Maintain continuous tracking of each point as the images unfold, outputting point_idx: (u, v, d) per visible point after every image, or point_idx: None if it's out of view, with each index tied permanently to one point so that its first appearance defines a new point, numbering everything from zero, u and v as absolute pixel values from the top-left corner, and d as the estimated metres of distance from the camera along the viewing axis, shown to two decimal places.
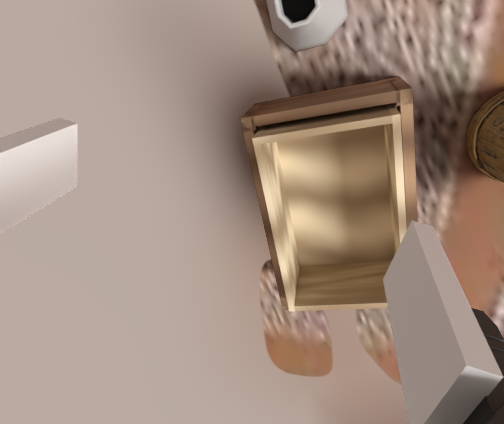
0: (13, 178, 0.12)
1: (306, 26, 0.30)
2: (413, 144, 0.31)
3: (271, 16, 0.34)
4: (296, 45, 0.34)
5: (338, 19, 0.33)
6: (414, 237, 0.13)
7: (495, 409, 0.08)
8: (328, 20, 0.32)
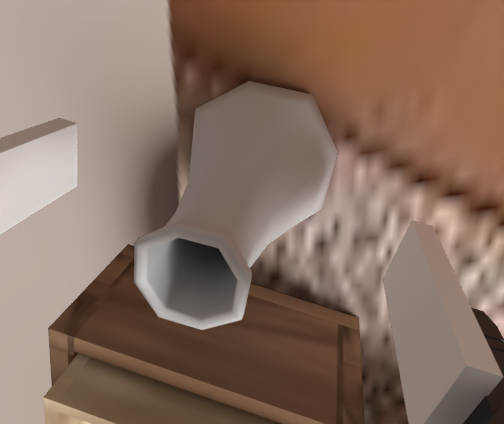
0: (13, 178, 0.12)
1: None
2: None
3: None
4: None
5: None
6: (414, 237, 0.13)
7: (495, 409, 0.08)
8: None
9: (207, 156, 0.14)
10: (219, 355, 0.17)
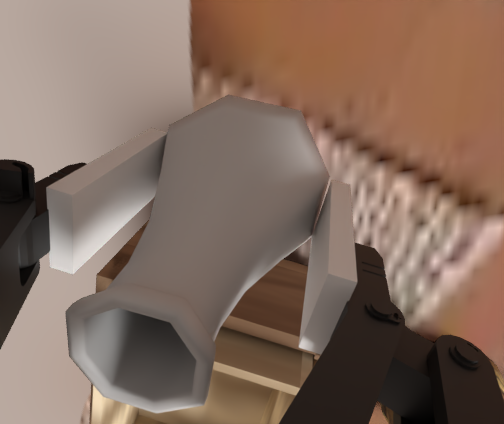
0: (127, 184, 0.13)
1: None
2: None
3: None
4: None
5: None
6: (330, 192, 0.14)
7: None
8: None
9: (174, 186, 0.12)
10: None
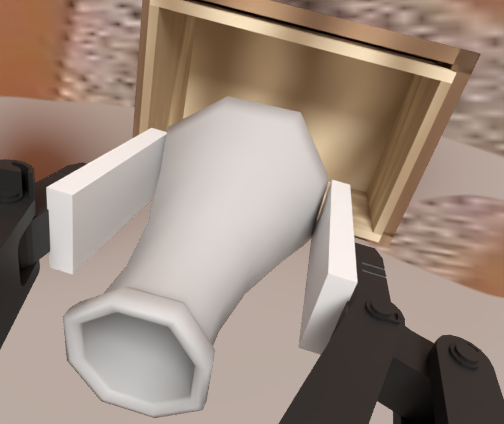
0: (127, 184, 0.13)
1: None
2: None
3: None
4: None
5: None
6: (329, 192, 0.14)
7: None
8: None
9: (173, 188, 0.12)
10: None
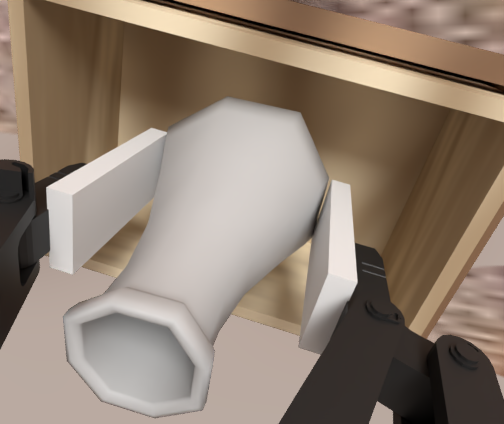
0: (127, 184, 0.13)
1: None
2: None
3: None
4: None
5: None
6: (330, 192, 0.14)
7: None
8: None
9: (173, 188, 0.12)
10: None
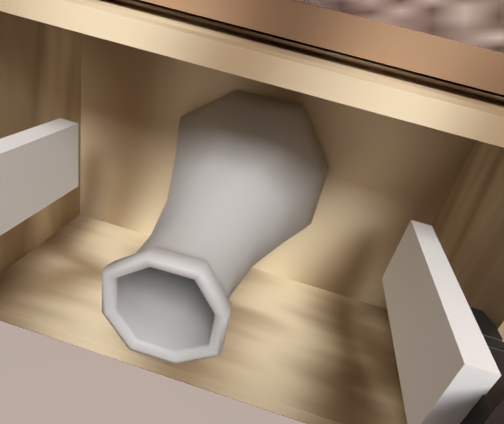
0: (14, 178, 0.12)
1: None
2: None
3: None
4: None
5: None
6: (413, 237, 0.13)
7: (493, 407, 0.08)
8: None
9: (189, 169, 0.13)
10: None
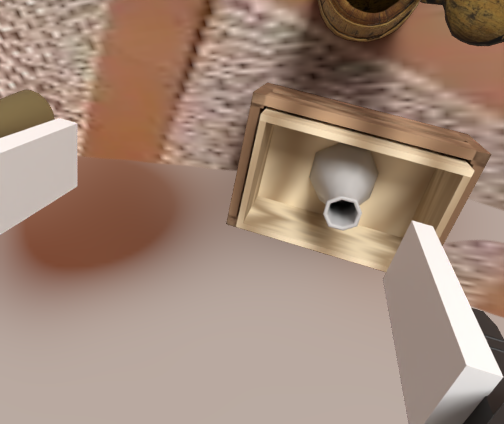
0: (13, 178, 0.12)
1: (338, 210, 0.36)
2: (301, 105, 0.34)
3: (314, 170, 0.40)
4: (322, 201, 0.41)
5: None
6: (414, 237, 0.13)
7: (495, 409, 0.08)
8: None
9: (333, 174, 0.36)
10: None
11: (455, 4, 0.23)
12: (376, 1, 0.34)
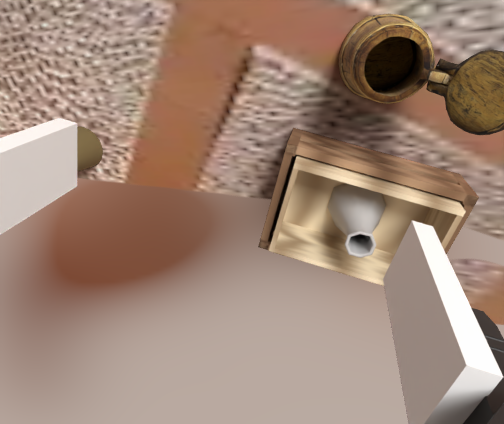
0: (13, 178, 0.12)
1: (354, 238, 0.44)
2: (327, 155, 0.41)
3: (332, 202, 0.48)
4: (339, 228, 0.48)
5: None
6: (414, 237, 0.13)
7: (495, 409, 0.08)
8: None
9: (350, 209, 0.44)
10: None
11: (453, 99, 0.31)
12: (387, 69, 0.42)
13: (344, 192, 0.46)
